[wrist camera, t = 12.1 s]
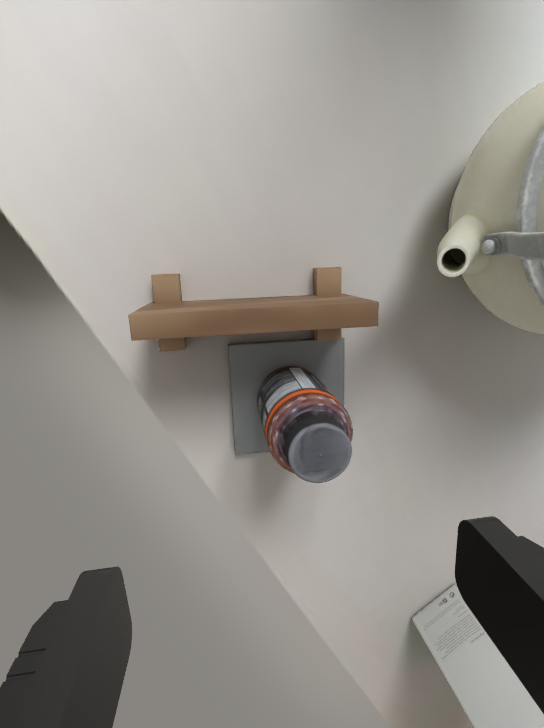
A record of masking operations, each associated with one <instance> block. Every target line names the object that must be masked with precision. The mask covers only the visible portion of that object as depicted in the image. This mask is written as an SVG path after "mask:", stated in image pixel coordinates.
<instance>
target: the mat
mask: <svg viewBox="0 0 544 728" xmlns="http://www.w3.org/2000/svg"><path fill="white" fill-rule="evenodd" d="M228 350H229V365H230V380H231V395H232V410H233V425H234V440H235V454H236V455H237V454H247V453H258V452H268V451H270V450H269V448H268V444H267V441H266V438H265V434H264V430H263V426H262V423H261V418H260V415H259V411H258V405H257V395H258V390H259V388H260V385H261V383H262V382H263V380H264V379H265V378H266V377H267V376H268V375H269V374H270V373H271V372H273V371H274V370H276V369H278V368H281V367H284V366H298V367H302V368H305V369H307V370H309V371H310V372H312V373H313V374H314V375H316V377H317V378H319V380H320V381H321V382H322V383H323V384H324V385H325V387H326V388H327V389H328V390H329V391H330V392H331V393H332V394H333V395H334V396H335V397H336V399H337V400H338V401H339V402H340V403H341V404H342V406H343V407H344V338H342V337H341V340H335V341H319V342H317V341H316V340H315V339H307V340H291V341H275V342H258V343H242V344H228Z"/></svg>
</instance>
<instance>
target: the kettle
mask: <svg viewBox="0 0 544 728" xmlns="http://www.w3.org/2000/svg"><path fill="white" fill-rule="evenodd" d="M437 266H438V269H439V271H440V272H441V273H442V274H443V275H445V276H447V277H456V276H459V275H462V277H463V279H464V280H465V282H466V284H467V285H468V287H469V289H470V290H471V291H472V293H473V294H474V295H475V297H476V298H477V299H478V300H479V301H480V302H481V304H482V305H483V306H484V307H485V308H486V309H488V310H489V311H490V312H491V313H492V314H494V315H495V316H496V317H497V318H499V319H501V320H502V321H504V322H506V323H507V324H510V325H512V326H514V327H516V328H519V329H522V330H525V331H528V332H532V333H537V334H542V335H544V82H542V83H540V84H539V85H537V86H536V87H534V88H533V89H531V90H530V91H528V92H527V93H525V94H524V95H523V96H521V97H520V98H519V99H517V100H516V101H515V102H514V103H513V104H511V105H510V106H509V107H508V108H507V109H506V110H505V111H504V112H503V113H502V114H501V115H500V116H499V117H498V118H497V119H496V120H495V121H494V123H493V124H492V125H491V126H490V127H489V128H488V130H487V131H486V132H485V134H484V135H483V136H482V138H481V139H480V141H479V142H478V144H477V146H476V147H475V149H474V150H473V152H472V154H471V156H470V158H469V160H468V162H467V164H466V167H465V169H464V171H463V174H462V177H461V179H460V182H459V184H458V186H457V189H456V191H455V194H454V197H453V200H452V204H451V208H450V214H449V225H448V232H447V233H446V234H445V236H444V237H443V239H442V240H441V242H440V244H439V247H438V250H437Z"/></svg>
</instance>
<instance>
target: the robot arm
mask: <svg viewBox="0 0 544 728" xmlns="http://www.w3.org/2000/svg"><path fill="white" fill-rule="evenodd" d="M455 578H456V583H457V587H458V589H459V592H460V594H461V597H462V598H463V600H464V602H465V603H466V605H467V606H468V608H469V609H470V610H471V612H472V613H473V615H474V616H475V618H476V619H477V620H478V622H479V623H480V625H481V626H482V627H483V629H484V630H485V632H486V633H487V635H488V636H489V637H490V639H491V640H492V642H493V643H494V644H495V646H496V647H497V649H498V650H499V652H500V653H501V654H502V656H503V657H504V659H505V660H506V662H507V663H508V664H509V666H510V667H511V669H512V670H513V671H514V673H515V674H516V676H517V677H518V679H519V680H520V681H521V683H522V684H523V686H524V687H525V688H526V690H527V691H528V693H529V694H530V696H531V697H532V698H533V700H534V701H535V703H536V704H537V706H538V707H539V708H540V710H541V711H542V713H543V714H544V548H543V547H541V546H539V545H537V544H536V543H534V542H532V541H530V540H529V539H527V538H525V537H523V536H519V537H517V536H516V535H515V534H514V533H513V532H512V531H511V530H510V529H509V528H507V527H506V526H505V525H504V524H503V523H502V522H501V521H500V520H499V519H497V518H496V517H483V518H476V519H469V520H463V521H461V522H460V524H459V526H458V537H457V550H456V564H455ZM131 641H132V622H131V616H130V611H129V606H128V601H127V596H126V591H125V585H124V580H123V575H122V572H121V569H120V568H119V567H112V568H105V569H97V570H90V571H84V572H83V573H81V574H80V576H79V578H78V580H77V582H76V584H75V586H74V589H73V591H72V593H71V595H70V598H69V600H65V601H59V602H54V603H53V604H52V605H51V606H50V608H49V609H48V610H47V611H46V612H45V613H44V614H43V615H42V616H41V617H40V618H39V620H38V621H37V622H36V623H35V624H34V625H33V626H32V628H31V630H30V632H29V634H28V636H27V637H26V639H25V641H24V643H23V645H22V647H21V649H20V651H19V656H18V658H16V659H15V660H14V662H13V664H12V666H11V668H10V670H9V672H8V674H7V678H6V681H5V682H3V684H2V685H1V687H0V728H112V726H113V722H114V717H115V714H116V709H117V705H118V701H119V697H120V693H121V688H122V684H123V680H124V676H125V672H126V667H127V663H128V659H129V655H130V649H131Z"/></svg>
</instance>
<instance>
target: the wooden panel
mask: <svg viewBox="0 0 544 728" xmlns="http://www.w3.org/2000/svg"><path fill="white" fill-rule="evenodd" d="M151 276H152V285H153V294H154V303H150V304H148V305H146V306H144V307H142V308H140V309H139V310H137V311H135V312H133V313H131V314H129V315H128V316H129V324H130V332H131V340H132V341H133V340H150V339H159V348H160V351H176V350H185V349H186V338H185V337H200V336H217V335H234V334H251V333H268V332H285V331H302V330H314V339H315V340H316V341H317V342H319V341H335V340H341V328H353V327H369V326H378V308H379V302H377V301H372V300H368V299H364V298H359V297H355V296H351V295H346V294H341V267H335V268H314V295H304V296H284V297H263V298H243V299H222V300H202V301H182V295H181V285H180V274H164V275H151Z"/></svg>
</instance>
